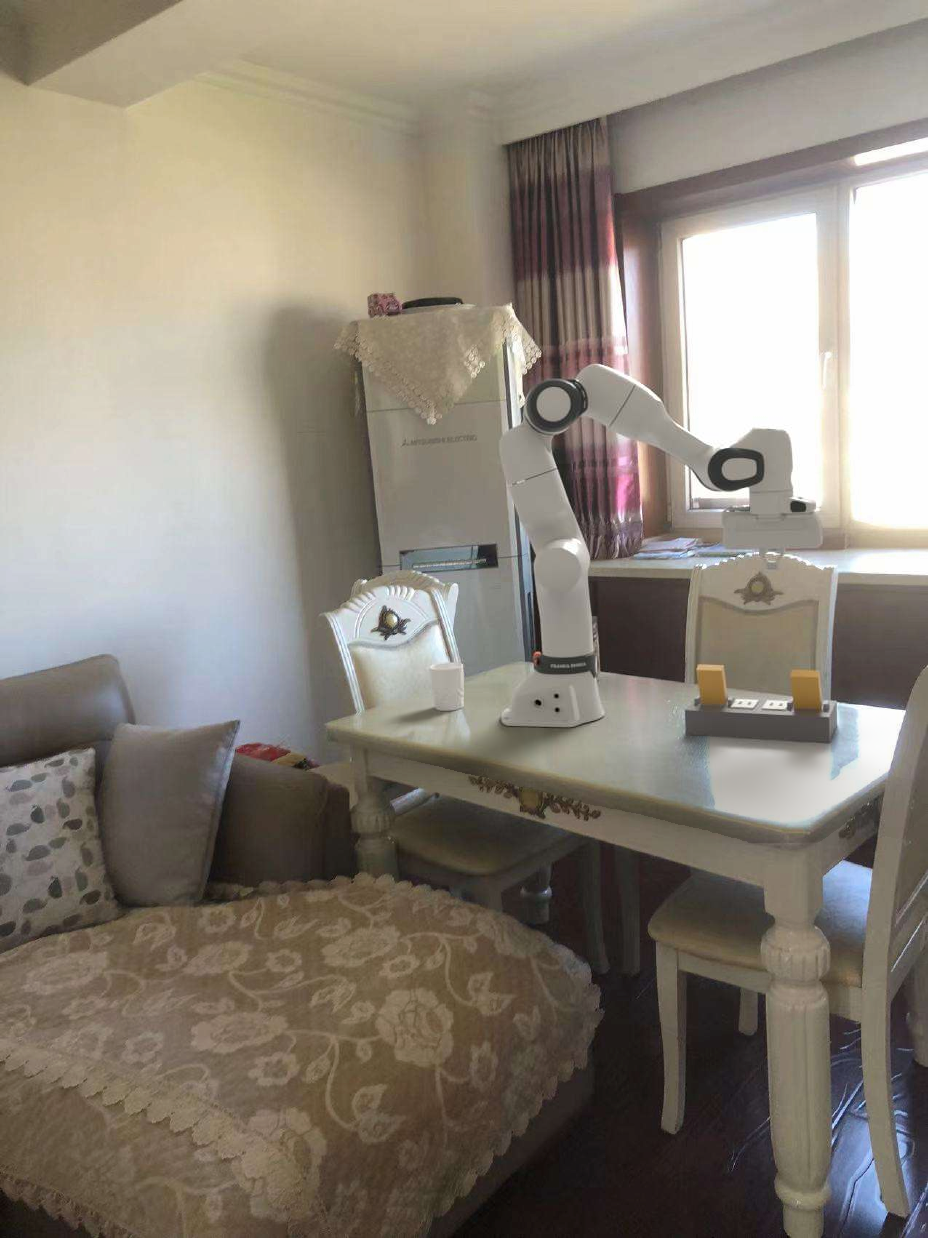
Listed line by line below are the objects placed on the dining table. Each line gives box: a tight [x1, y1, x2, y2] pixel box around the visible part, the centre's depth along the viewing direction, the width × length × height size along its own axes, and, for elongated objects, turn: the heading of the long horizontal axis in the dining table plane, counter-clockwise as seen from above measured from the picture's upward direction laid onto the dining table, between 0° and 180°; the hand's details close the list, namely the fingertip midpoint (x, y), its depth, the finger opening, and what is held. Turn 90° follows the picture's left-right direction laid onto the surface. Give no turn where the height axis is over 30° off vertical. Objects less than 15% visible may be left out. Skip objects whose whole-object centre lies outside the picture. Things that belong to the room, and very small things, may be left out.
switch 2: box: [789, 669, 823, 709], centre depth 189 cm, size 5×2×8 cm, turn 63°
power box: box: [684, 694, 838, 744], centre depth 196 cm, size 27×12×6 cm, turn 63°
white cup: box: [429, 661, 465, 712], centre depth 232 cm, size 8×8×10 cm
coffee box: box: [592, 615, 601, 682], centre depth 245 cm, size 9×6×16 cm
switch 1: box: [695, 664, 729, 704], centre depth 198 cm, size 5×2×8 cm, turn 63°
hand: (772, 569), depth 211 cm, fingers closed
